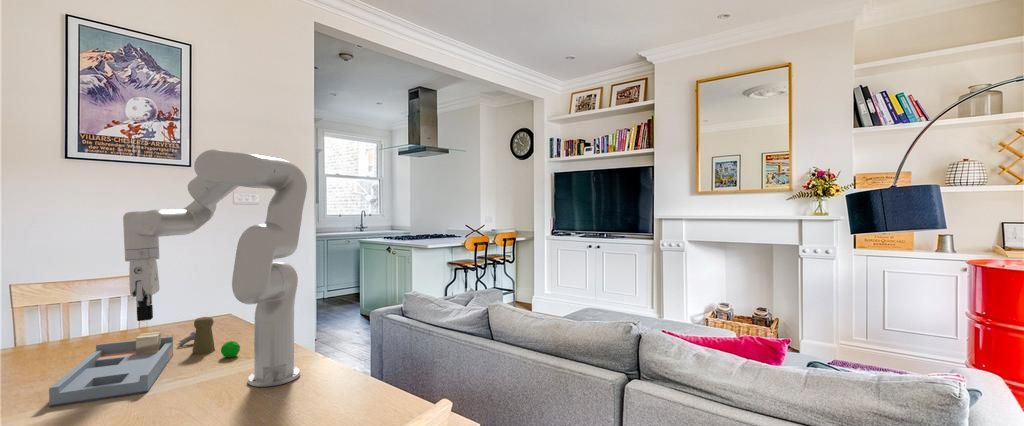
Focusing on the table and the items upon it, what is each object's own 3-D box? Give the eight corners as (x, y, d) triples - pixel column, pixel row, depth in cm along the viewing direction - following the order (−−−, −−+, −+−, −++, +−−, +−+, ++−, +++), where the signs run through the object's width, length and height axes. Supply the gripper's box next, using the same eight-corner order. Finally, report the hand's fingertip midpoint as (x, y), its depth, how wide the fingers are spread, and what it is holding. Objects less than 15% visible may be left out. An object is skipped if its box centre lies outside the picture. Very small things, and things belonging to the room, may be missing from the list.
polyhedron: (216, 359, 136) (217, 343, 136) (229, 354, 141) (229, 339, 141) (231, 360, 136) (231, 344, 136) (243, 355, 140) (243, 339, 140)
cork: (219, 348, 146) (219, 315, 146) (205, 354, 140) (205, 320, 140) (202, 348, 147) (202, 315, 147) (187, 354, 141) (187, 319, 141)
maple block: (157, 352, 133) (157, 335, 133) (136, 355, 131) (136, 338, 131) (161, 347, 137) (161, 331, 137) (140, 350, 135) (140, 333, 135)
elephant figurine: (172, 344, 151) (199, 329, 159) (183, 357, 151) (210, 341, 158) (175, 330, 145) (203, 315, 153) (187, 344, 145) (215, 328, 152)
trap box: (147, 392, 111) (147, 368, 111) (49, 407, 103) (49, 381, 103) (173, 355, 140) (173, 336, 140) (97, 364, 131) (97, 344, 131)
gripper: (152, 255, 121) (155, 323, 121) (164, 252, 134) (167, 313, 134) (116, 258, 117) (119, 327, 117) (132, 254, 130) (135, 316, 130)
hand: (145, 319), depth 126 cm, fingers closed
